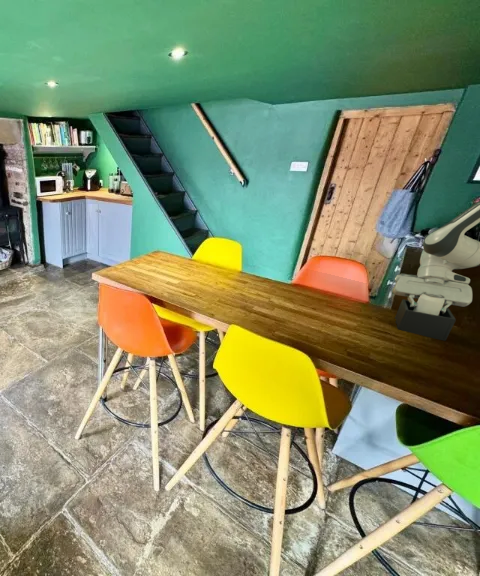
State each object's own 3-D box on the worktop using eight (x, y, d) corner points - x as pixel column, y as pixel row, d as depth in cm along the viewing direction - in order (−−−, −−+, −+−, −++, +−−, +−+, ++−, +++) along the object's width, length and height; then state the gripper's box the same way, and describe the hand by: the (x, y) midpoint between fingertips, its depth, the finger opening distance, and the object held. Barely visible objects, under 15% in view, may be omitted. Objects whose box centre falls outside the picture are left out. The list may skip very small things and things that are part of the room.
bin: (438, 327, 117) (448, 307, 114) (445, 341, 108) (456, 319, 104) (394, 318, 124) (402, 299, 121) (397, 330, 115) (405, 310, 112)
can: (429, 322, 116) (442, 294, 112) (435, 329, 111) (449, 299, 107) (406, 318, 119) (418, 290, 115) (411, 324, 114) (424, 295, 110)
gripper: (399, 268, 119) (392, 299, 116) (477, 279, 107) (472, 313, 104) (393, 276, 124) (387, 305, 121) (468, 287, 112) (463, 320, 109)
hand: (427, 309), depth 112 cm, fingers closed on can, 6 cm apart
